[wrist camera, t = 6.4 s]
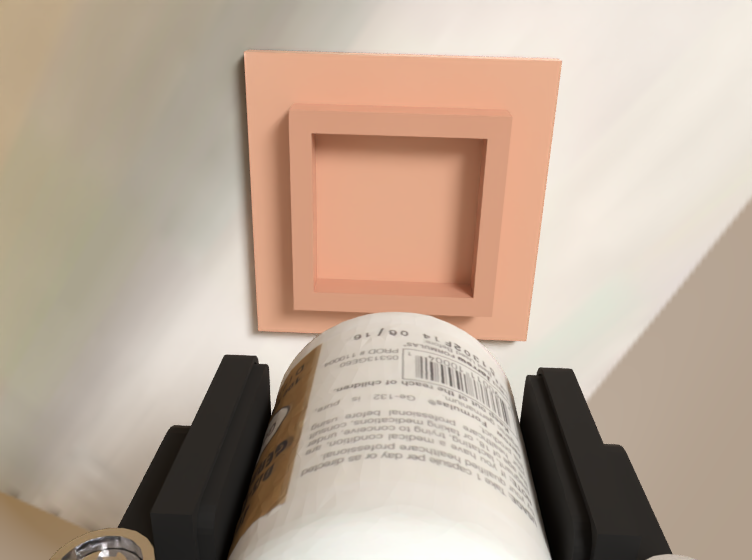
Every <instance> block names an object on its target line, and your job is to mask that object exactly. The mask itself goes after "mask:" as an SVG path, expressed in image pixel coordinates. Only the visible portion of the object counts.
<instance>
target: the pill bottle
mask: <svg viewBox="0 0 752 560" xmlns="http://www.w3.org/2000/svg"><path fill="white" fill-rule="evenodd" d="M227 560H552V556H551V552H550V548H549V544H548V540H547V536H546V532H545V528H544V524H543V520H542V516H541V512H540V507H539V503H538V499H537V495H536V490H535V486H534V482H533V478H532V473H531V469H530V465H529V461H528V456H527V452H526V448H525V444H524V440H523V436H522V432H521V427H520V423H519V419H518V415H517V411H516V406H515V402H514V397H513V394H512V390H511V387H510V384H509V381H508V379H507V377H506V375H505V373H504V371H503V369H502V368H501V366H500V365H499V363H498V362H497V360H496V359H495V358H494V356H493V355H492V354H491V353H490V352H489V351H488V350H487V349H486V348H485V347H484V346H483V345H482V344H481V343H480V342H479V341H478V340H476V339H475V338H474V337H472V336H471V335H469V334H468V333H467V332H465V331H463V330H462V329H460V328H458V327H456V326H454V325H452V324H450V323H448V322H445V321H442V320H440V319H437V318H435V317H432V316H429V315H424V314H418V313H409V312H381V313H373V314H367V315H363V316H359V317H356V318H353V319H350V320H347V321H344V322H341V323H339V324H338V325H336V326H334V327H332V328H330V329H328V330H326V331H324V332H323V333H321V334H320V335H318V336H317V337H316V338H314V339H313V340H312V341H311V342H310V343H308V344H307V345H306V346H305V347H304V348H303V350H302V351H301V352H300V353H299V354H298V355H297V356H296V357H295V359H294V360H293V362H292V363H291V365H290V366H289V368H288V369H287V371H286V373H285V374H284V377H283V380H282V382H281V385H280V389H279V392H278V395H277V399H276V404H275V407H274V409H273V412H272V415H271V418H270V421H269V423H268V427H267V430H266V433H265V436H264V439H263V443H262V447H261V451H260V454H259V457H258V459H257V463H256V466H255V469H254V472H253V475H252V479H251V482H250V486H249V489H248V493H247V496H246V499H245V501H244V504H243V507H242V511H241V515H240V518H239V520H238V523H237V525H236V529H235V533H234V537H233V540H232V544H231V547H230V550H229V553H228V557H227Z"/></svg>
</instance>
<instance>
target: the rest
mask: <svg viewBox="0 0 752 560" xmlns="http://www.w3.org/2000/svg"><path fill="white" fill-rule="evenodd" d="M244 62H245V81H246V101H247V120H248V140H249V160H250V179H251V199H252V218H253V238H254V258H255V277H256V297H257V316H258V331H272V332H298V333H323V332H324V331H326V330H328V329H330V328H332V327H334V326H336V325H338V324H339V323H341V322H344V321H347V320H350V319H353V318H356V317H359V316H363V315H367V314H373V313H381V312H409V313H418V314H424V315H429V316H432V317H435V318H437V319H440V320H442V321H445V322H448V323H450V324H452V325H454V326H456V327H458V328H460V329H462V330H463V331H465V332H467V333H468V334H469V335H471V336H472V337H474V338H475V339H482V340H508V341H526V339H527V331H528V323H529V315H530V307H531V299H532V292H533V284H534V276H535V268H536V260H537V252H538V245H539V237H540V229H541V221H542V213H543V206H544V198H545V190H546V182H547V174H548V166H549V159H550V151H551V143H552V135H553V127H554V120H555V112H556V104H557V96H558V88H559V80H560V73H561V65H562V61H561V60H559V59H549V58H515V57H481V56H446V55H412V54H377V53H343V52H308V51H274V50H246V51H244Z"/></svg>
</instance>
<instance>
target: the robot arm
mask: <svg viewBox="0 0 752 560" xmlns="http://www.w3.org/2000/svg"><path fill="white" fill-rule="evenodd" d="M270 418H271V401H270V379H269V367H268V365H267V364H259V363H258V358H257V356H247V355H225V356H224V357H223V359H222V361H221V363H220V365H219V368H218V370H217V372H216V374H215V376H214V378H213V380H212V382H211V385H210V387H209V389H208V391H207V393H206V395H205V397H204V399H203V401H202V404H201V406H200V408H199V410H198V412H197V414H196V416H195V418H194V421H193V423H192V425H191V426H180V425H174V426H172V427H170V429H169V430H168V432H167V433H166V435H165V437H164V439H163V441H162V443H161V445H160V447H159V449H158V451H157V453H156V455H155V456H154V458H153V460H152V462H151V464H150V466H149V468H148V470H147V472H146V474H145V476H144V478H143V480H142V482H141V484H140V486H139V487H138V489H137V491H136V493H135V495H134V497H133V499H132V501H131V503H130V505H129V507H128V509H127V511H126V513H125V515H124V516H123V518H122V520H121V522H120V524H119V526H118V528H106V529H101V530H97V531H92V532H89V533H87V534H84V535H82V536H80V537H77V538H75V539H73V540H72V541H70V542H69V543H67V544H66V545H64V546H63V547H61V548H60V549H59V550H58V551H57V552H56V553H55V554H54V555H53V556H52V557H51V558H50V560H227V557H228V553H229V550H230V547H231V544H232V540H233V537H234V533H235V529H236V525H237V523H238V520H239V518H240V515H241V511H242V507H243V504H244V501H245V499H246V496H247V493H248V489H249V486H250V482H251V479H252V475H253V472H254V469H255V466H256V463H257V459H258V457H259V454H260V451H261V447H262V443H263V439H264V436H265V433H266V430H267V427H268V423H269V421H270ZM520 427H521V432H522V436H523V440H524V444H525V448H526V452H527V456H528V461H529V465H530V469H531V473H532V478H533V482H534V486H535V490H536V495H537V499H538V503H539V507H540V512H541V516H542V520H543V524H544V528H545V532H546V536H547V540H548V544H549V548H550V552H551V556H552V560H696V559H693V558H690V557H687V556H682V555H673V554H672V552H671V550H670V548H669V545H668V543H667V541H666V539H665V537H664V535H663V532H662V530H661V528H660V526H659V523H658V521H657V519H656V517H655V515H654V512H653V511H652V508H651V506H650V504H649V501H648V499H647V497H646V495H645V493H644V490H643V488H642V486H641V484H640V482H639V480H638V477H637V475H636V473H635V471H634V469H633V466H632V464H631V462H630V460H629V458H628V455H627V453H626V451H625V450H624V448H623V447H622V446H620V445H615V444H603V441H602V439H601V437H600V434H599V432H598V430H597V427H596V425H595V422H594V420H593V418H592V415H591V413H590V410H589V408H588V405H587V403H586V401H585V398H584V396H583V393H582V391H581V388H580V386H579V384H578V381H577V379H576V376H575V374H574V372H573V370H572V369H565V368H541V367H540V368H539V369H538V371H537V375H527V377H526V381H525V388H524V395H523V403H522V411H521V418H520Z"/></svg>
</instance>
